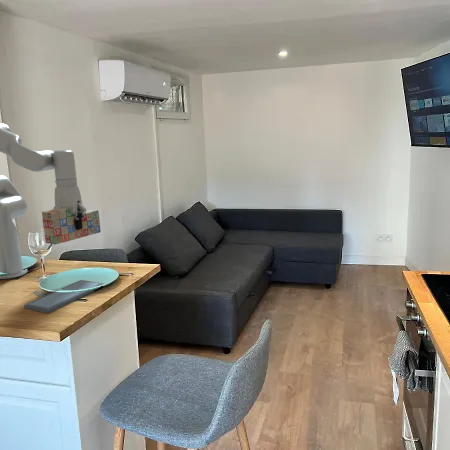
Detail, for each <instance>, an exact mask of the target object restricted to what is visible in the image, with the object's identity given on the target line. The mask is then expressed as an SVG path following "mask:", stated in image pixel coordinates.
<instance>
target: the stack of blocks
mask: <svg viewBox="0 0 450 450" xmlns="http://www.w3.org/2000/svg"><path fill="white" fill-rule="evenodd" d="M86 210H87V211H86V212H85V214H84V216H83V218H82V226H83V228H82V229H80V230H76V229H75V220H76V219H75V217H74V215H73V213H72V214H71V213H70V211H69V209H63V208H56V209H54V208H53V209H47V210H42V211H41V215H42V226H43V231H44V238H45V239H44V240H45V243H46V244H50V245H55V246H56V245H59V244H63V243H68V242H70V241H73V240H77V239H81V238H85V237H88V236H91V235H95V234H99V233H101V232H102V231H101V222H100V214H99V210H97V209H89V208H88V209H87V208H86ZM77 211H78V209H77ZM80 212H81V211H80ZM77 215H78V213H77Z"/></svg>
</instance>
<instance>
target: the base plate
mask: <svg viewBox="0 0 450 450" xmlns="http://www.w3.org/2000/svg"><path fill="white" fill-rule="evenodd" d="M102 284H104V282H98V281H91V280H84V279H80V280H78V281H76V282H73V283H71V284H69V285H66V286H64V287H62V288H61V289H62V290H79V289H86V288H91V287H94V286H99V285H102ZM93 292H94V291H89V290H88V291H82V292H72V293H58V292H55V291H53V292H50V293H49V294H46V295H44V296H41V297H39V298H36V299H35V300H33V301H30V302H27V303H26V304H23V307H24V310H25V309H26V310H29V311H35V312H39V313H45V314H50V313H52V312H54V311H56V310H59V309H60V308H62V307H65V306H67V305H68V304H71V303H72V302H75V301H78V300H79V299H81V298H83V297H85V296H87V295H89V294H91V293H93Z"/></svg>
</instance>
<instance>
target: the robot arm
mask: <svg viewBox="0 0 450 450" xmlns="http://www.w3.org/2000/svg"><path fill="white" fill-rule="evenodd" d="M0 153H3V154H5V155H7V156H8V158H9V159H10V160H11V161H12V162H13V163H14V164H16V165H17V166H19V167H21V168H24V169H25V170H28V171H32V172H36V173H39V172H43V171H51V170H54V176H55V177H54V178H55V184H56V186H55V188H54V207H53V209H56V208H63V209H69V211H70V213H71V214H72V213H73V215H74V217H75V219H76V220H75V229H76V230H80V229H82V228H83V226H82V218H83V216H84V214H85V212H86V211H87V208H86V207H85V206H84V205H83V202H82V201H83V200H82V196H81V191H80V187H79V186H78V179H77V170H76V169H77V168H76V162H75V153H74V151H72V150H70V149H61V150H54V149H43V150H33V149H30V148H28V147H26V146H23V145H22V138H21V137H20V136H19V135H18V134H16V133H14V132H12V130H11V128H10V127H9V126H8V125H7V124H6V123H3V122H0ZM77 209H78V211H77ZM27 210H28V204H27V201H26V200H25V198H24V197H23V195H22V194H21V193H20V191H19V190H18V189H17V187H16V186H15V185H14V183H13V182H12V181H11V180H10V179H9V178H8V177H6V175H4V174H0V272H2V273H10V274H7V275H4V276H0V280H7V279H13V278H14V279H15V278H17V277H18V278H19V277H20V276H24V275H25V274H27V273H28V268H27V269H25V270H22V269H23V267H24V265H23V261H22V260H23V259H22V252H21V245H20V238H19V233H18V228H17V226H16V225H15V223H14V222H13V220H14V219H18V218H20V217H23V215H25V214H26V212H27ZM80 211H81V212H80ZM77 213H78V215H77Z"/></svg>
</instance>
